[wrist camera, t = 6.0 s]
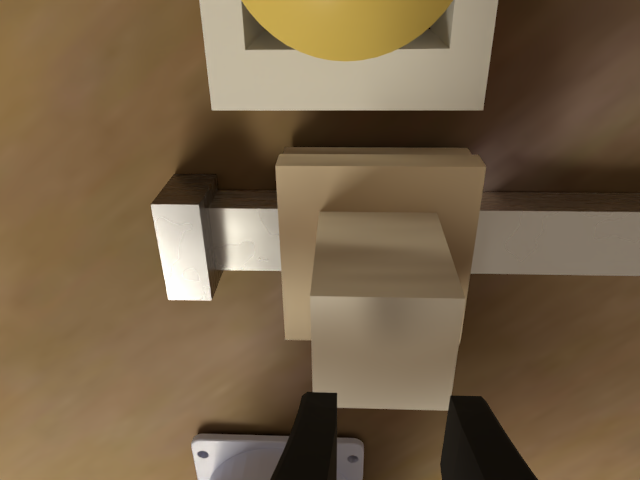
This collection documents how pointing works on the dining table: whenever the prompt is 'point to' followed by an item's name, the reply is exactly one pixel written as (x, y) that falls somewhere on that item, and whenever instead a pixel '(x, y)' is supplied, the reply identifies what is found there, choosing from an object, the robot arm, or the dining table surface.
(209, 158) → the dining table surface
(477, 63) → the frame
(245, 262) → the gray block handle
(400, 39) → the cylinder
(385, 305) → the carriage
